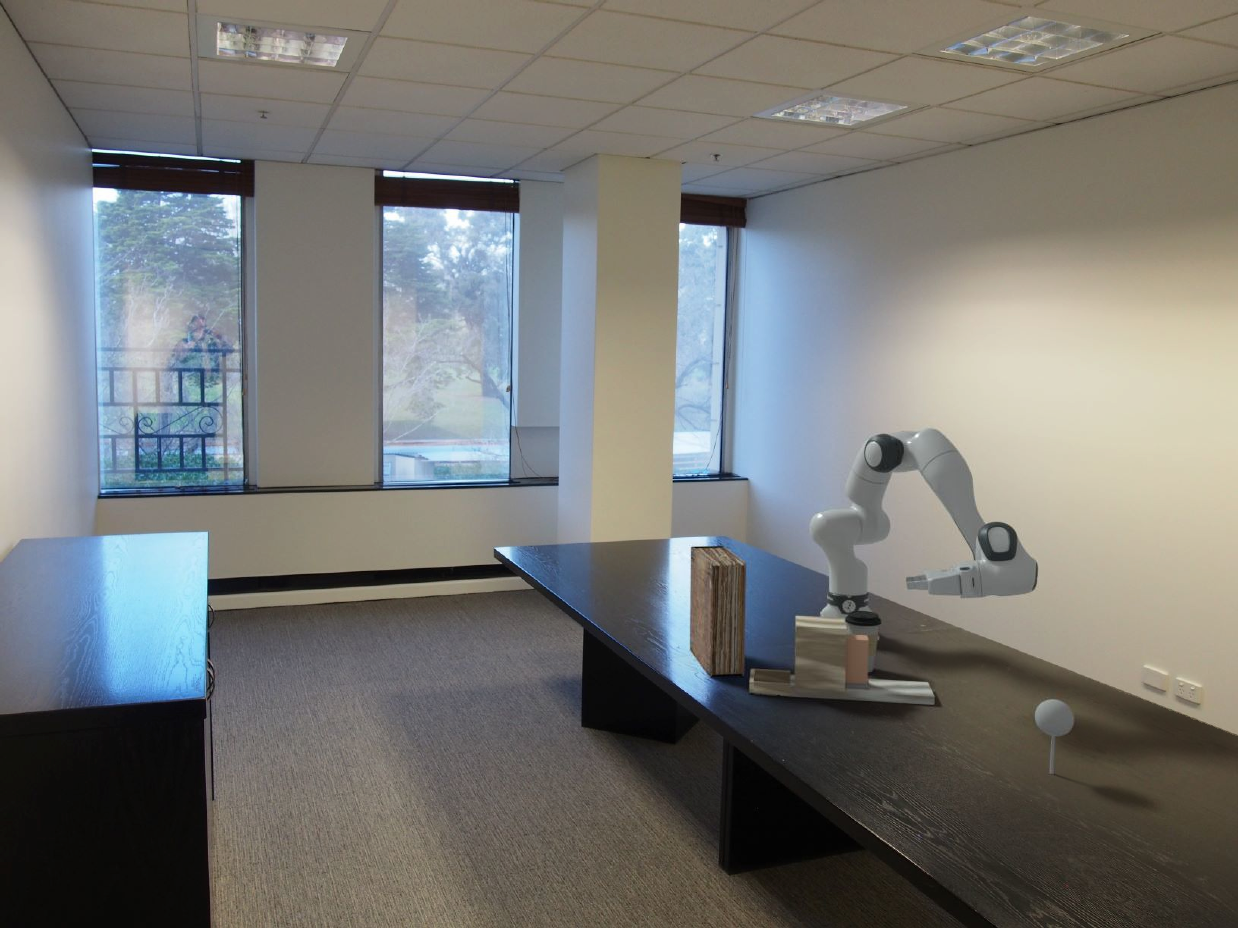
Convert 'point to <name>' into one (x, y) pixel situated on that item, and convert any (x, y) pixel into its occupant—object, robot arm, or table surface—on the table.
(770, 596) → the table surface
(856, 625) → the coffee cup
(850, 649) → the block
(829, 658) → the tunnel track
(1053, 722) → the lollipop
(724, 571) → the book
